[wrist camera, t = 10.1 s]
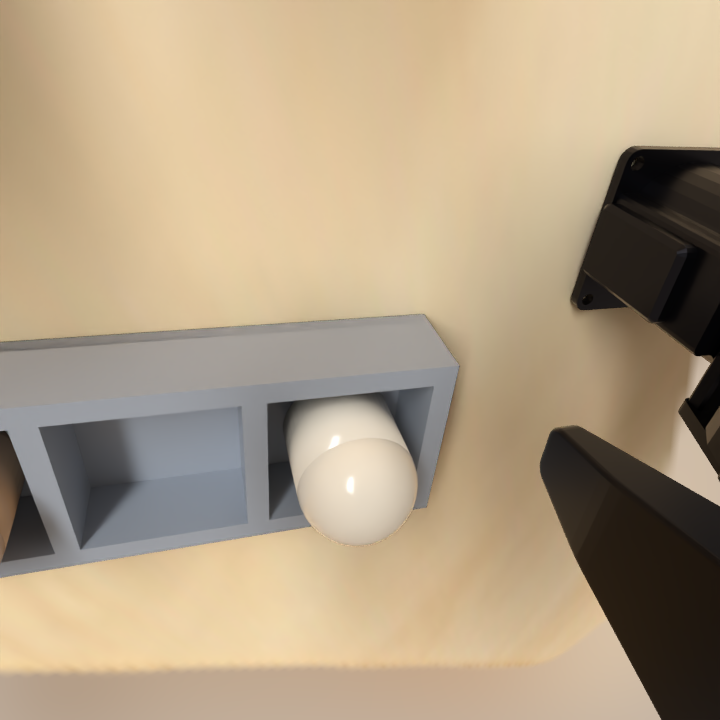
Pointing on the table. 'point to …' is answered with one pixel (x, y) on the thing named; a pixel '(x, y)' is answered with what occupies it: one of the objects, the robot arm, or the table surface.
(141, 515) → the egg tray
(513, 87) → the table surface
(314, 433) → the cream egg
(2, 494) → the brown egg
